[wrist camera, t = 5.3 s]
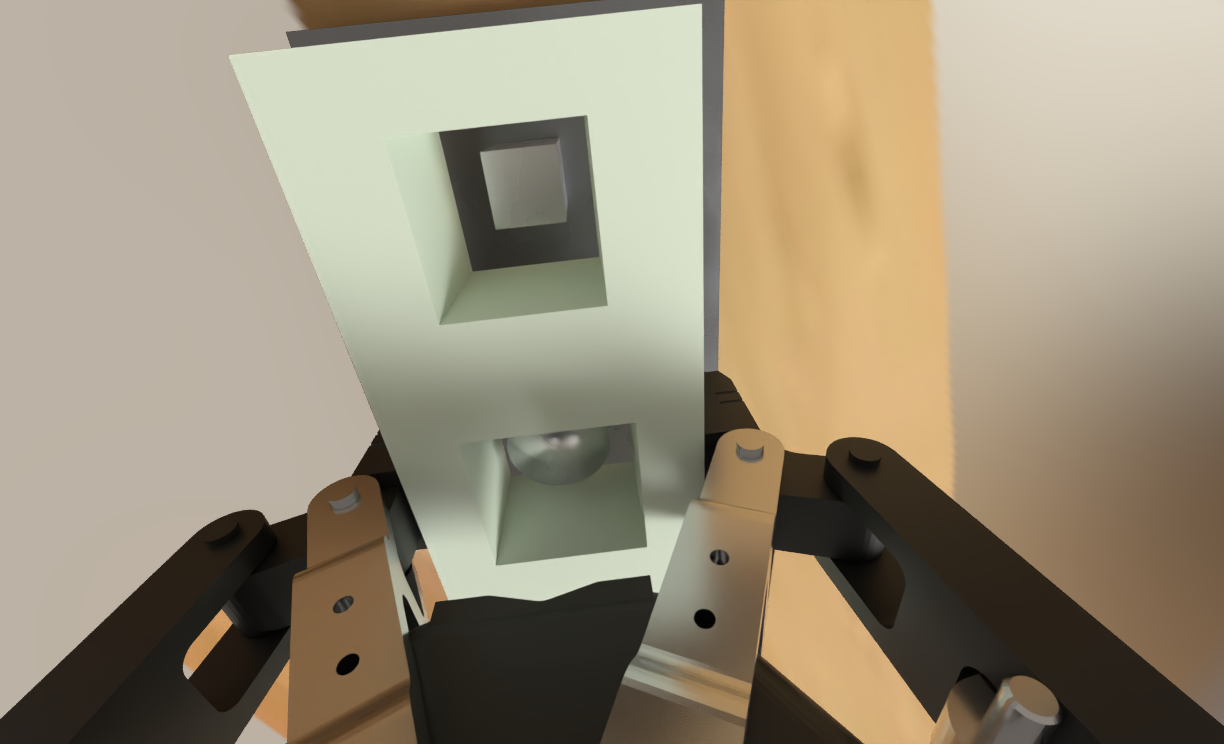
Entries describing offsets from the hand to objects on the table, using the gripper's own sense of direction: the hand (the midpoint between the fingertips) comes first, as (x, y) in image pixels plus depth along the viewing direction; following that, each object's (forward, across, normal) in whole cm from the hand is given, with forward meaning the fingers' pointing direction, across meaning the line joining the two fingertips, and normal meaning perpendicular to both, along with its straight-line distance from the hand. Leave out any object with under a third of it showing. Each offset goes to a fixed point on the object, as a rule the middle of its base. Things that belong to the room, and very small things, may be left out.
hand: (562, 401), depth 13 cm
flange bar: (-1, 0, 0) cm, 1 cm away
